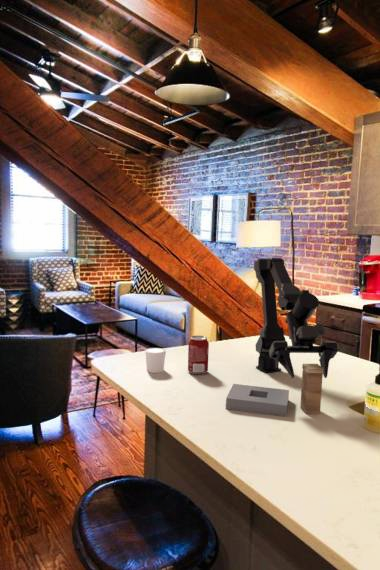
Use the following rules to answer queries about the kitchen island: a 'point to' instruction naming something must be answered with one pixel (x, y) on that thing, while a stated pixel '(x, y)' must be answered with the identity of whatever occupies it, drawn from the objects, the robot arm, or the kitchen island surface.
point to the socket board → (258, 399)
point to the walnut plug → (311, 388)
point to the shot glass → (155, 359)
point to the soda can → (198, 355)
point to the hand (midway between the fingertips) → (309, 377)
